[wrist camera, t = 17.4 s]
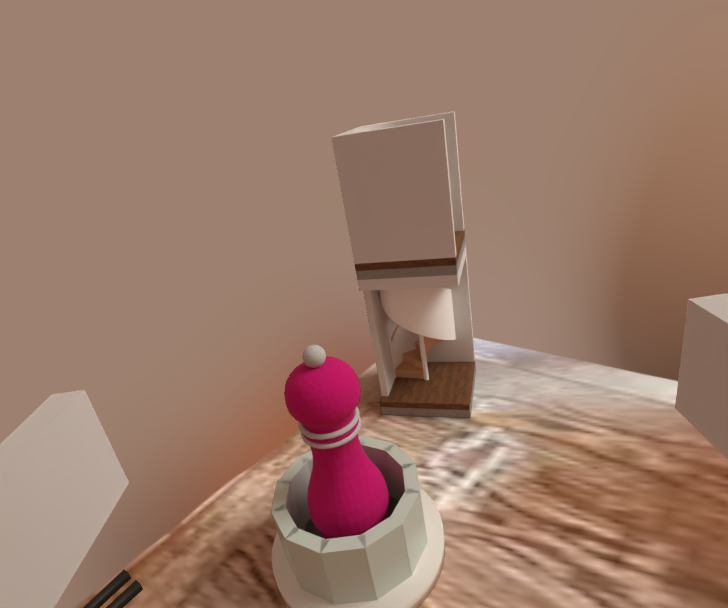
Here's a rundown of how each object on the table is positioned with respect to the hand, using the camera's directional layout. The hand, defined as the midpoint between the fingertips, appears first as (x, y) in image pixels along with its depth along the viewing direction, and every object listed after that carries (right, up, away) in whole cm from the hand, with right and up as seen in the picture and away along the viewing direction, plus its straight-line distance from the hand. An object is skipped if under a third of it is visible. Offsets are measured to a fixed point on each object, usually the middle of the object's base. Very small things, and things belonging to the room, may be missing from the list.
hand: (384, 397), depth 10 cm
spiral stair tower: (+9, -10, +54) cm, 56 cm away
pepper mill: (-1, -19, +33) cm, 38 cm away
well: (-1, -21, +34) cm, 40 cm away
